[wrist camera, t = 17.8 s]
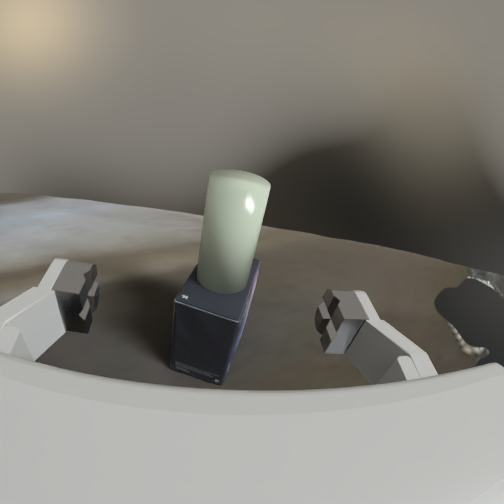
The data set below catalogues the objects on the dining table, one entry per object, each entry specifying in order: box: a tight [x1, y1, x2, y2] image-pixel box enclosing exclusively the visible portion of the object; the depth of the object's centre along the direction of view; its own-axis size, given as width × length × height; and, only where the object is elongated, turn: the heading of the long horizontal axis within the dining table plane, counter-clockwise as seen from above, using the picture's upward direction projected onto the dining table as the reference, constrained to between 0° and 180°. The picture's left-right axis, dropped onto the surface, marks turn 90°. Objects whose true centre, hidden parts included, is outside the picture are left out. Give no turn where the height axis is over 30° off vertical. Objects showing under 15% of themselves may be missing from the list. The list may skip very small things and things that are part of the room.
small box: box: [170, 258, 261, 385], centre depth 33 cm, size 11×6×10 cm, turn 168°
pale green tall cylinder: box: [196, 169, 270, 294], centre depth 28 cm, size 5×5×10 cm
